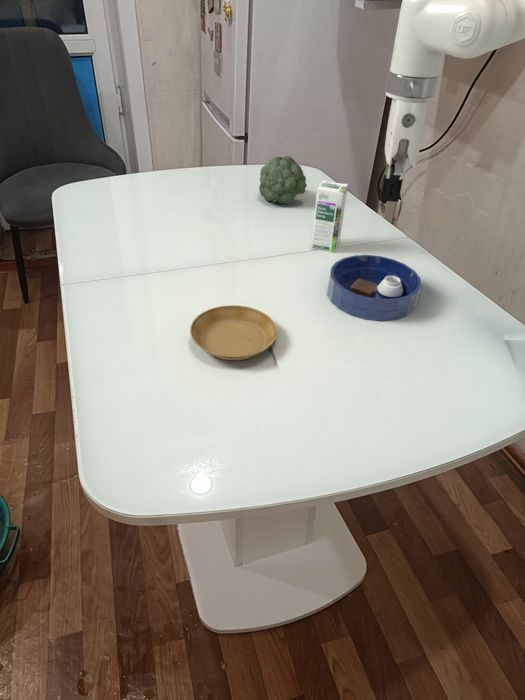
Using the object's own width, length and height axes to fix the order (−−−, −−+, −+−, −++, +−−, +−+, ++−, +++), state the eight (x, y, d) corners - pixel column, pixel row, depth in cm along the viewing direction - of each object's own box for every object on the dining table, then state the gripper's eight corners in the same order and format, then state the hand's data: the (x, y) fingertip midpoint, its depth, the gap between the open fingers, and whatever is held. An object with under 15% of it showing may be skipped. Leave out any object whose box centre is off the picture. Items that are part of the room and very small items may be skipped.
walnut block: (374, 302, 99) (378, 284, 96) (366, 311, 96) (370, 293, 94) (355, 295, 100) (358, 277, 98) (346, 304, 98) (350, 286, 95)
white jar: (381, 283, 104) (373, 294, 101) (384, 270, 103) (376, 281, 99) (405, 290, 103) (398, 301, 99) (408, 277, 101) (401, 288, 97)
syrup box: (309, 250, 116) (316, 187, 107) (316, 239, 120) (323, 178, 111) (334, 255, 115) (343, 192, 106) (339, 244, 119) (348, 182, 110)
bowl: (411, 281, 107) (416, 259, 104) (419, 328, 93) (425, 305, 90) (329, 272, 108) (332, 251, 105) (325, 317, 95) (328, 294, 92)
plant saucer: (263, 312, 95) (264, 301, 94) (287, 362, 84) (288, 349, 83) (184, 322, 92) (184, 309, 90) (198, 374, 81) (197, 361, 79)
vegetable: (323, 190, 139) (304, 180, 126) (286, 218, 145) (265, 212, 131) (300, 154, 141) (279, 141, 127) (265, 183, 146) (241, 174, 133)
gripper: (442, 99, 74) (413, 218, 85) (430, 79, 86) (406, 186, 97) (389, 95, 75) (368, 214, 86) (385, 75, 86) (367, 182, 98)
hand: (388, 199), depth 91 cm, fingers closed
